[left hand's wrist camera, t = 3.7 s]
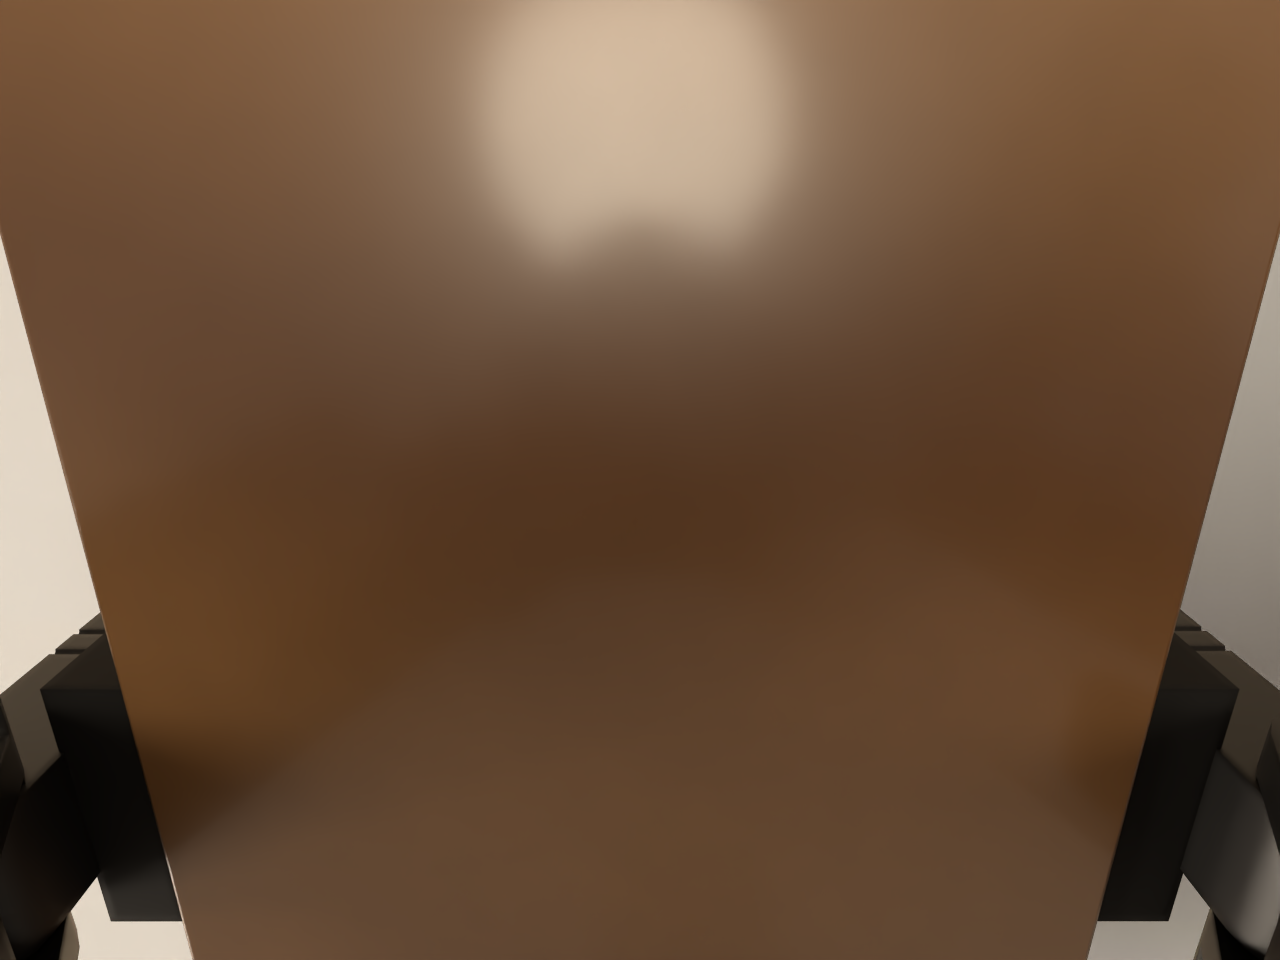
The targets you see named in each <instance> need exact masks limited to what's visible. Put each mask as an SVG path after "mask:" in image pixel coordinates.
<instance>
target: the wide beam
mask: <svg viewBox="0 0 1280 960" xmlns="http://www.w3.org/2000/svg"><path fill="white" fill-rule="evenodd" d="M1279 234H1280V0H0V235H1V239H2V242H3V246H4V250H5V254H6V257H7V261H8V265H9V269H10V273H11V276H12V280H13V284H14V288H15V291H16V295H17V299H18V303H19V307H20V310H21V314H22V318H23V322H24V325H25V329H26V333H27V337H28V340H29V344H30V348H31V352H32V356H33V359H34V363H35V367H36V371H37V374H38V378H39V382H40V386H41V390H42V393H43V397H44V401H45V405H46V408H47V412H48V416H49V420H50V423H51V427H52V431H53V435H54V439H55V442H56V446H57V450H58V454H59V457H60V461H61V465H62V469H63V473H64V476H65V480H66V484H67V488H68V491H69V495H70V499H71V503H72V506H73V510H74V514H75V518H76V522H77V525H78V529H79V533H80V537H81V540H82V544H83V548H84V552H85V556H86V559H87V563H88V567H89V571H90V574H91V578H92V582H93V586H94V589H95V593H96V597H97V601H98V605H99V608H100V612H101V616H102V620H103V623H104V627H105V631H106V635H107V639H108V642H109V646H110V650H111V654H112V657H113V661H114V665H115V669H116V672H117V676H118V680H119V684H120V688H121V691H122V695H123V699H124V703H125V706H126V710H127V714H128V718H129V722H130V725H131V729H132V733H133V737H134V740H135V744H136V748H137V752H138V755H139V759H140V763H141V767H142V771H143V774H144V778H145V782H146V786H147V789H148V793H149V797H150V801H151V805H152V808H153V812H154V816H155V820H156V823H157V827H158V831H159V835H160V838H161V842H162V846H163V850H164V854H165V857H166V861H167V865H168V869H169V872H170V876H171V880H172V884H173V888H174V891H175V895H176V899H177V903H178V906H179V910H180V914H181V918H182V921H183V925H184V929H185V933H186V937H187V940H188V944H189V948H190V952H191V955H192V959H193V960H1087V958H1088V954H1089V950H1090V946H1091V943H1092V939H1093V935H1094V931H1095V928H1096V924H1097V920H1098V916H1099V913H1100V909H1101V905H1102V901H1103V897H1104V894H1105V890H1106V886H1107V882H1108V879H1109V875H1110V871H1111V867H1112V864H1113V860H1114V856H1115V852H1116V848H1117V845H1118V841H1119V837H1120V833H1121V830H1122V826H1123V822H1124V818H1125V815H1126V811H1127V807H1128V803H1129V799H1130V796H1131V792H1132V788H1133V784H1134V781H1135V777H1136V773H1137V769H1138V766H1139V762H1140V758H1141V754H1142V750H1143V747H1144V743H1145V739H1146V735H1147V732H1148V728H1149V724H1150V720H1151V717H1152V713H1153V709H1154V705H1155V701H1156V698H1157V694H1158V690H1159V686H1160V683H1161V679H1162V675H1163V671H1164V668H1165V664H1166V660H1167V656H1168V652H1169V649H1170V645H1171V641H1172V637H1173V634H1174V630H1175V626H1176V622H1177V619H1178V615H1179V611H1180V607H1181V603H1182V600H1183V596H1184V592H1185V588H1186V585H1187V581H1188V577H1189V573H1190V570H1191V566H1192V562H1193V558H1194V554H1195V551H1196V547H1197V543H1198V539H1199V536H1200V532H1201V528H1202V524H1203V521H1204V517H1205V513H1206V509H1207V506H1208V502H1209V498H1210V494H1211V490H1212V487H1213V483H1214V479H1215V475H1216V472H1217V468H1218V464H1219V460H1220V457H1221V453H1222V449H1223V445H1224V441H1225V438H1226V434H1227V430H1228V426H1229V423H1230V419H1231V415H1232V411H1233V408H1234V404H1235V400H1236V396H1237V392H1238V389H1239V385H1240V381H1241V377H1242V374H1243V370H1244V366H1245V362H1246V359H1247V355H1248V351H1249V347H1250V343H1251V340H1252V336H1253V332H1254V328H1255V325H1256V321H1257V317H1258V313H1259V310H1260V306H1261V302H1262V298H1263V294H1264V291H1265V287H1266V283H1267V279H1268V276H1269V272H1270V268H1271V264H1272V261H1273V257H1274V253H1275V249H1276V245H1277V242H1278V238H1279Z"/></svg>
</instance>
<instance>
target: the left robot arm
mask: <svg viewBox="0 0 1280 960" xmlns="http://www.w3.org/2000/svg"><path fill="white" fill-rule="evenodd" d="M55 650H56V652H55V654H49V655H48V656H47V657H45V658H44V659H43V660H42V661H41V662H39V663H38V664H37V665H36V666H34V667H33V668H32V669H31V670H30V671H28V672H27V673H26V674H25V675H24V676H22V677H21V678H20V679H19V680H17V681H16V682H15V683H14V684H13V685H11V686H10V687H9V688H8V689H7V690H5V691H4V692H3V693H2V694H0V960H78V954H79V940H78V934H77V929H76V926H75V923H74V919H73V916H72V913H71V910H72V909H73V907H74V906H75V905H76V903H77V902H78V901H79V899H80V898H81V897H82V896H83V894H84V893H85V892H86V890H87V889H88V888H89V886H90V885H91V884H92V883H93V881H94V880H95V879H96V877H98V881H99V884H100V887H101V890H102V894H103V897H104V900H105V903H106V907H107V910H108V913H109V916H110V920H111V921H182V918H181V914H180V910H179V906H178V903H177V899H176V895H175V891H174V888H173V884H172V880H171V876H170V872H169V869H168V865H167V861H166V857H165V854H164V850H163V846H162V842H161V838H160V835H159V831H158V827H157V823H156V820H155V816H154V812H153V808H152V805H151V801H150V797H149V793H148V789H147V786H146V782H145V778H144V774H143V771H142V767H141V763H140V759H139V755H138V752H137V748H136V744H135V740H134V737H133V733H132V729H131V725H130V722H129V718H128V714H127V710H126V706H125V703H124V699H123V695H122V691H121V688H120V684H119V680H118V676H117V672H116V669H115V665H114V661H113V657H112V654H111V650H110V646H109V642H108V639H107V635H106V631H105V627H104V623H103V620H102V616H101V612H100V613H99V614H98V615H97V616H95V617H94V618H93V619H92V620H90V621H89V622H88V623H87V624H86V625H84V626H83V627H82V628H81V629H80V630H79V634H73V635H72V636H71V637H70V638H69V639H67V640H66V641H65V642H64V643H62V644H61V645H60V646H59V647H58V648H56V649H55ZM1183 873H1184V875H1185V876H1186V877H1187V879H1188V880H1189V881H1190V883H1191V884H1192V885H1193V886H1194V888H1195V889H1196V890H1197V892H1198V893H1199V894H1200V895H1201V897H1202V898H1203V899H1204V901H1205V902H1206V903H1207V905H1208V906H1209V907H1210V910H1209V913H1208V916H1207V919H1206V923H1205V926H1204V929H1203V932H1202V935H1201V938H1200V941H1199V944H1198V947H1197V950H1196V953H1195V956H1194V959H1193V960H1280V690H1278V689H1277V688H1276V687H1275V686H1273V685H1272V684H1271V683H1270V682H1268V681H1267V680H1266V679H1265V678H1264V677H1262V676H1261V675H1260V674H1259V673H1257V672H1256V671H1255V670H1254V669H1253V668H1251V667H1250V666H1249V665H1248V664H1246V663H1245V662H1244V661H1243V660H1241V659H1240V658H1239V657H1238V656H1237V655H1235V654H1234V653H1233V652H1232V651H1225V646H1224V645H1223V644H1222V643H1221V642H1219V641H1218V640H1217V639H1216V638H1215V637H1213V636H1212V635H1211V634H1210V633H1208V632H1207V631H1201V626H1200V625H1199V624H1197V623H1196V622H1195V621H1194V620H1192V619H1191V618H1190V617H1189V616H1188V615H1186V614H1185V613H1184V612H1183V611H1181V610H1180V611H1179V615H1178V619H1177V622H1176V626H1175V630H1174V634H1173V637H1172V641H1171V645H1170V649H1169V652H1168V656H1167V660H1166V664H1165V668H1164V671H1163V675H1162V679H1161V683H1160V686H1159V690H1158V694H1157V698H1156V701H1155V705H1154V709H1153V713H1152V717H1151V720H1150V724H1149V728H1148V732H1147V735H1146V739H1145V743H1144V747H1143V750H1142V754H1141V758H1140V762H1139V766H1138V769H1137V773H1136V777H1135V781H1134V784H1133V788H1132V792H1131V796H1130V799H1129V803H1128V807H1127V811H1126V815H1125V818H1124V822H1123V826H1122V830H1121V833H1120V837H1119V841H1118V845H1117V848H1116V852H1115V856H1114V860H1113V864H1112V867H1111V871H1110V875H1109V879H1108V882H1107V886H1106V890H1105V894H1104V897H1103V901H1102V905H1101V909H1100V913H1099V916H1098V920H1097V921H1169V918H1170V914H1171V911H1172V908H1173V905H1174V901H1175V898H1176V895H1177V892H1178V888H1179V885H1180V882H1181V878H1182V875H1183Z"/></svg>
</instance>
